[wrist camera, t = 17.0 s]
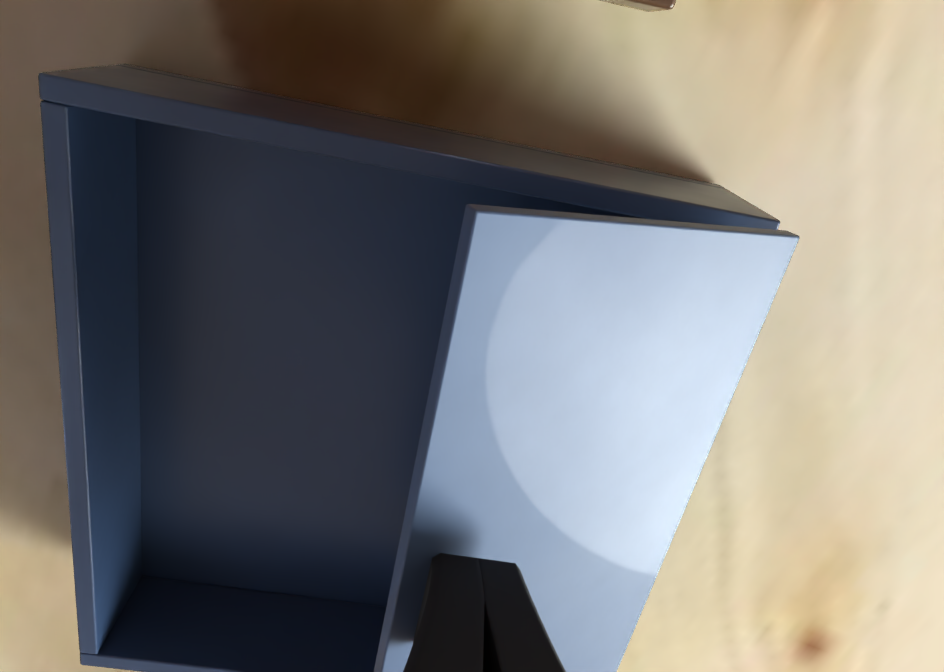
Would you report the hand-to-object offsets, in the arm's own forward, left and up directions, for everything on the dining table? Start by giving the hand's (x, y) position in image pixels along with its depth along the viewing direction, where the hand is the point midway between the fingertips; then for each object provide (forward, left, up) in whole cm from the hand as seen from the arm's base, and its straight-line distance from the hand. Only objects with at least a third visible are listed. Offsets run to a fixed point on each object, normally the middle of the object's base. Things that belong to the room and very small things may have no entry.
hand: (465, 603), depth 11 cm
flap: (+1, 0, -1) cm, 2 cm away
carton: (-2, 0, -6) cm, 6 cm away
